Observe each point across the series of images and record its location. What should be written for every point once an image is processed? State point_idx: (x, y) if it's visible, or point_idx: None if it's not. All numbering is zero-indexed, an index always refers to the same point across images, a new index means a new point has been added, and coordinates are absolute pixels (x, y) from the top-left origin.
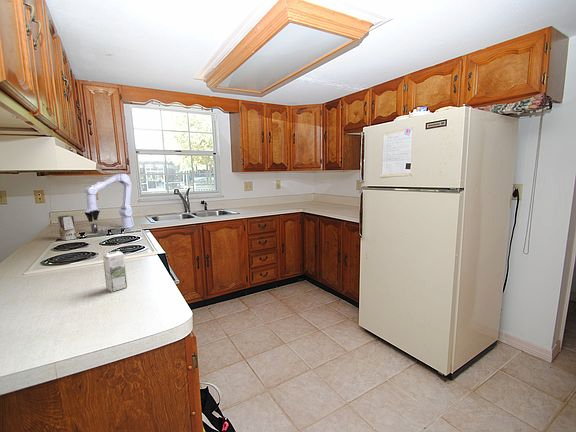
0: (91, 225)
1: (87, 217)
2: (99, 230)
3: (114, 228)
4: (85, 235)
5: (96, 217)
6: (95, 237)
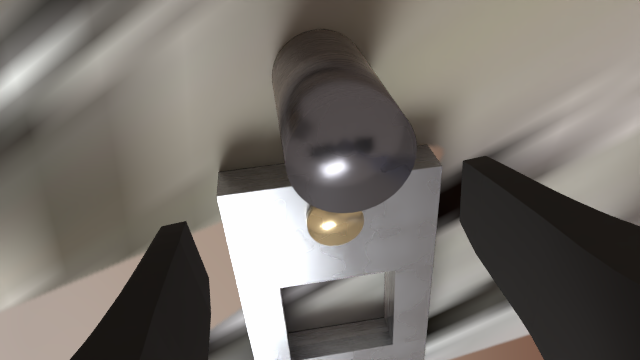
0: (286, 128)
1: (93, 338)
2: (292, 194)
3: (419, 297)
4: (93, 53)
5: (504, 272)
6: (2, 290)
